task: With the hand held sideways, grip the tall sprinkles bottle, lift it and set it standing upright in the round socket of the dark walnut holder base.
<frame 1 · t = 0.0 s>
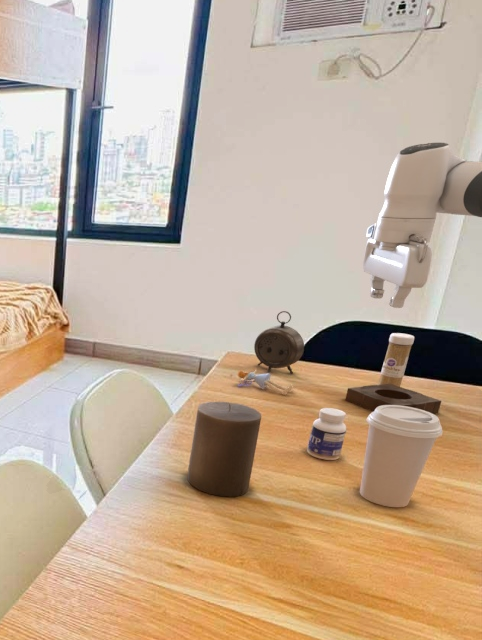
hand: (385, 302, 127), 25 cm above the table, tool pointing down, fingers open, 8 cm apart
pillar candle: (216, 484, 110), on the table
holder base: (390, 406, 142), on the table
fairy figurine: (261, 389, 155), on the table
sprinkles bottle: (388, 388, 153), on the table
pill bottle: (322, 455, 119), on the table
alarm clock: (272, 371, 168), on the table
coffee cup: (383, 498, 104), on the table
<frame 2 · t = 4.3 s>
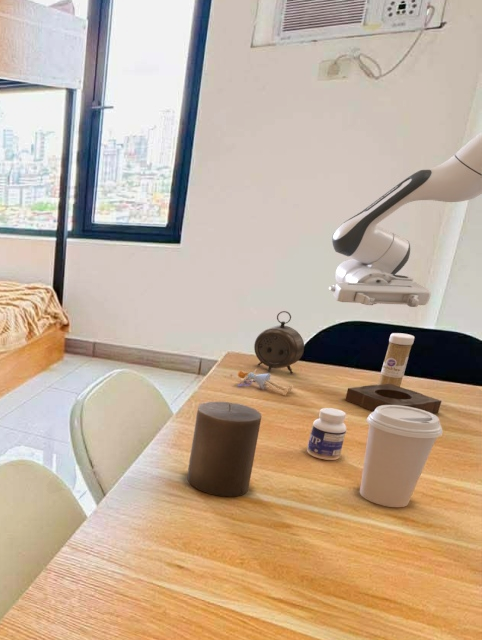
hand: (392, 302, 155), 19 cm above the table, tool horizontal, fingers open, 8 cm apart
nothing on the table moved.
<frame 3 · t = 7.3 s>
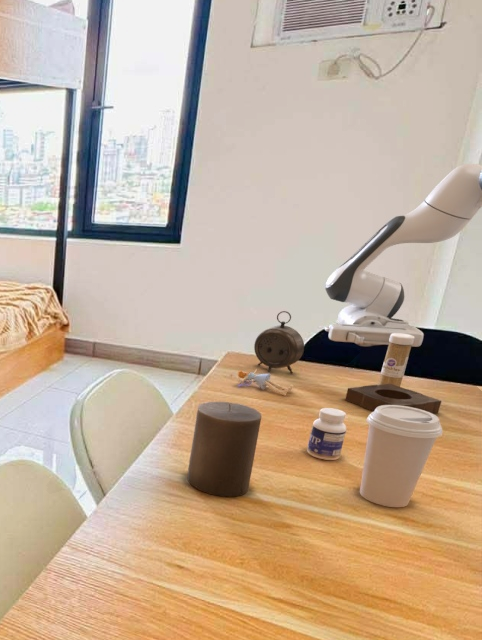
hand: (382, 342, 160), 9 cm above the table, tool horizontal, fingers open, 8 cm apart
nothing on the table moved.
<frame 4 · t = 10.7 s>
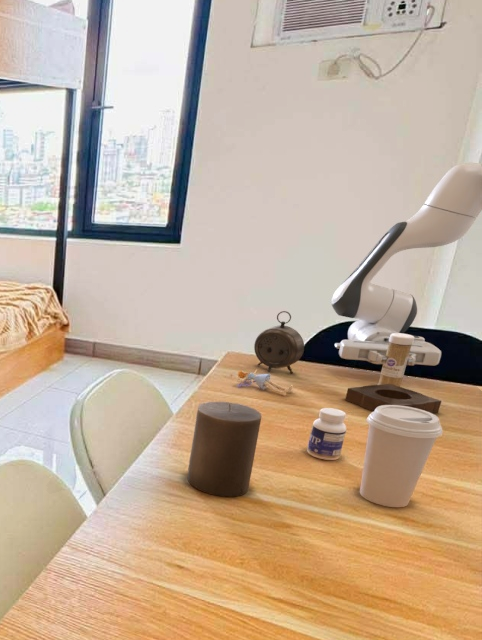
hand: (397, 361, 150), 7 cm above the table, tool horizontal, fingers closed on sprinkles bottle, 4 cm apart
sprinkles bottle: (388, 388, 153), on the table, touching gripper
everything else where it was.
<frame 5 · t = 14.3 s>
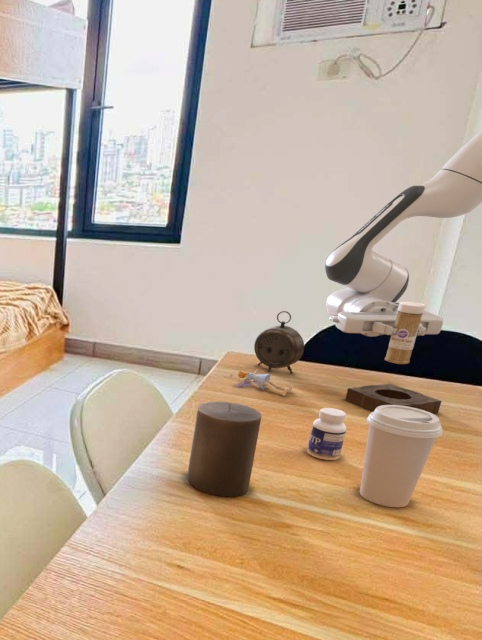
hand: (407, 331, 138), 17 cm above the table, tool horizontal, fingers closed on sprinkles bottle, 4 cm apart
sprinkles bottle: (396, 362, 141), point 9 cm above the table, touching gripper
everything else where it was.
when the fingers open (7 cm above the table, at t = 18.1 s): sprinkles bottle stays where it is, resting in holder base.
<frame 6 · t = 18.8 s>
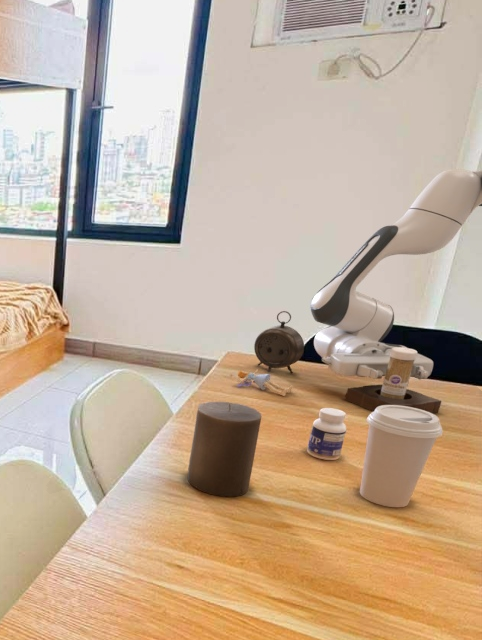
hand: (401, 375, 138), 8 cm above the table, tool horizontal, fingers open, 8 cm apart
sprinkles bottle: (389, 407, 142), resting in holder base
everything else where it was.
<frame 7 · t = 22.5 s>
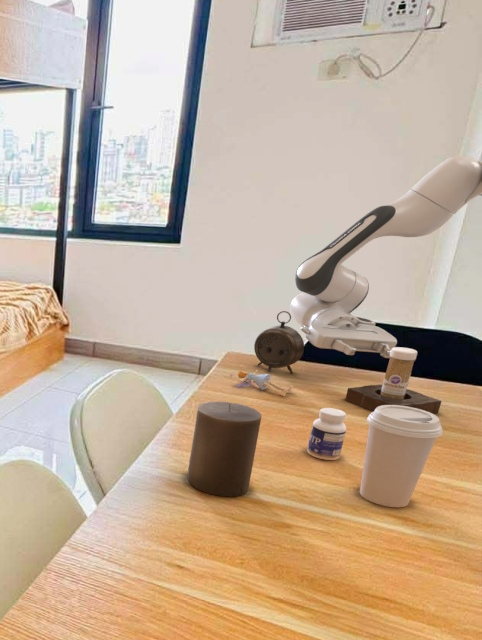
hand: (370, 353, 150), 9 cm above the table, tool horizontal, fingers open, 8 cm apart
nothing on the table moved.
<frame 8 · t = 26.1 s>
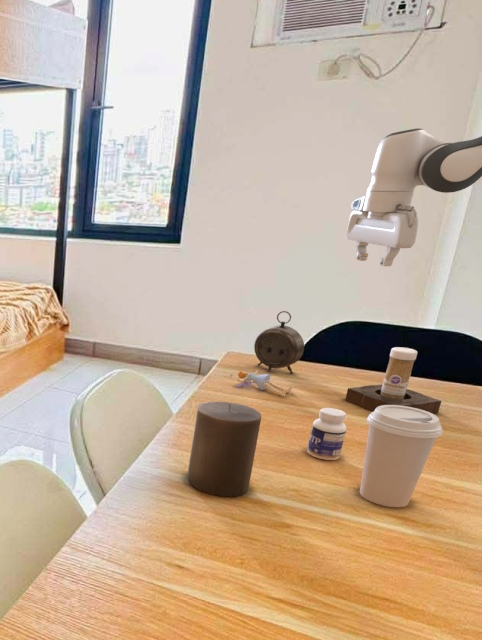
hand: (373, 263, 152), 29 cm above the table, tool pointing down, fingers open, 8 cm apart
nothing on the table moved.
at the end: sprinkles bottle 0.1 cm off-centre in the holder base, point 0.0 cm above the holder base's base; sprinkles bottle tilted 0°; the gripper is holding nothing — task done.
